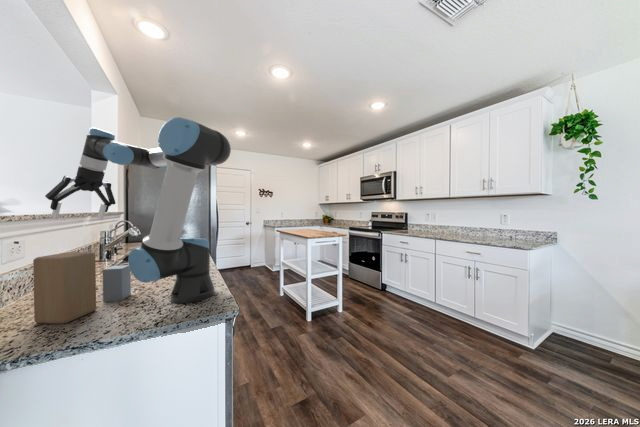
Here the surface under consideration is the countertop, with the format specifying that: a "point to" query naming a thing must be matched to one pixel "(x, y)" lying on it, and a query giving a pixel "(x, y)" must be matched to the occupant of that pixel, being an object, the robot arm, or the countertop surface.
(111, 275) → the slate block
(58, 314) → the wooden block
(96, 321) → the countertop surface
